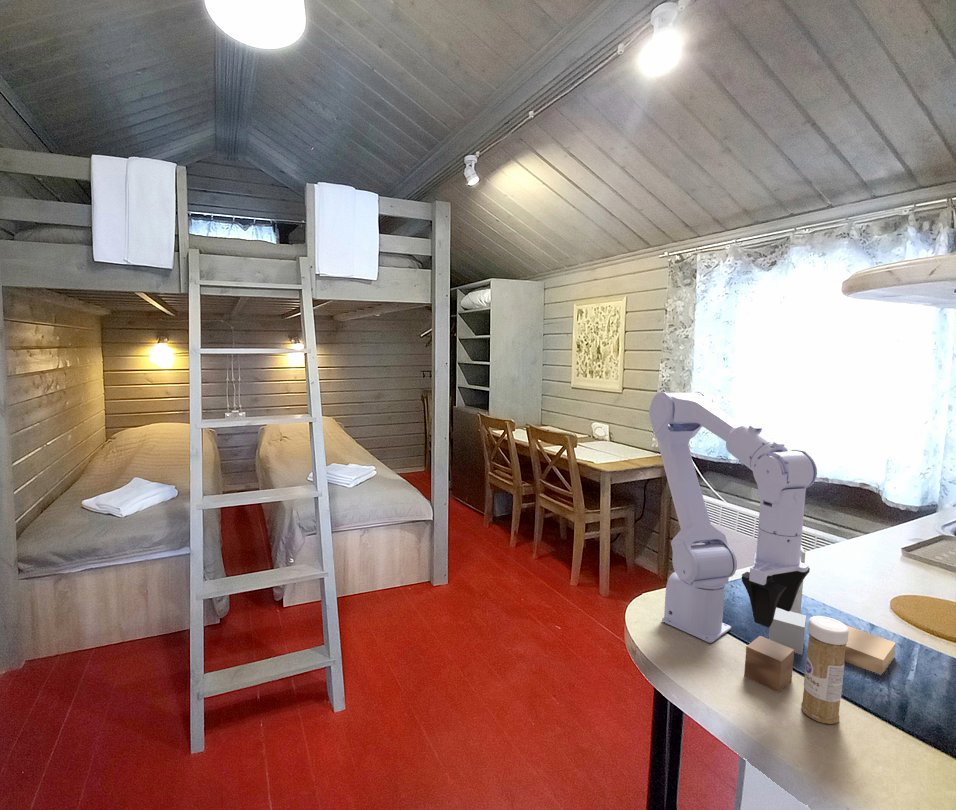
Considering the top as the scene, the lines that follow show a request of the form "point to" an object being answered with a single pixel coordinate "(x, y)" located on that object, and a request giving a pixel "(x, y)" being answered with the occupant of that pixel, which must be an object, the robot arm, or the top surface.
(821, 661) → the toothpick jar
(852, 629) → the oak base block
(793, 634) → the light grey cube
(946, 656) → the top surface
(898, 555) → the top surface
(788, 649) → the walnut cube
